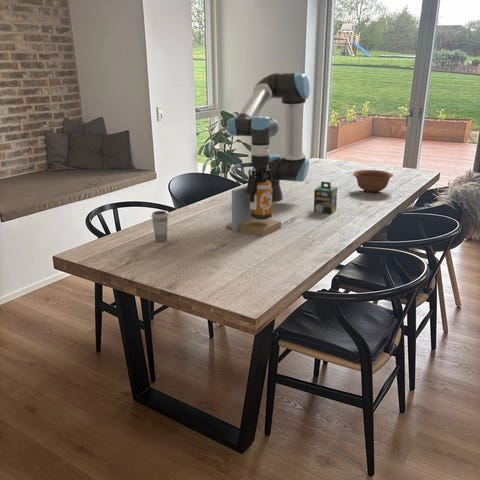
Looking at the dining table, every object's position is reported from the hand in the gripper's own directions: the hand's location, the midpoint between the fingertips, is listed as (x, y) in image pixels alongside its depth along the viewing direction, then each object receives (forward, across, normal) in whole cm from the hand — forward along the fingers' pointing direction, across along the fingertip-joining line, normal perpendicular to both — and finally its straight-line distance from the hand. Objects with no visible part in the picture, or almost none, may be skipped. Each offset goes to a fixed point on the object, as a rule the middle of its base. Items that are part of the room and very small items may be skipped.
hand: (259, 206), depth 211 cm
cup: (+11, -36, +24) cm, 45 cm away
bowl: (+10, +92, -14) cm, 94 cm away
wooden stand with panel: (+10, +3, +3) cm, 11 cm away
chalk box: (+10, +43, -10) cm, 45 cm away
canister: (+5, 0, 0) cm, 5 cm away
